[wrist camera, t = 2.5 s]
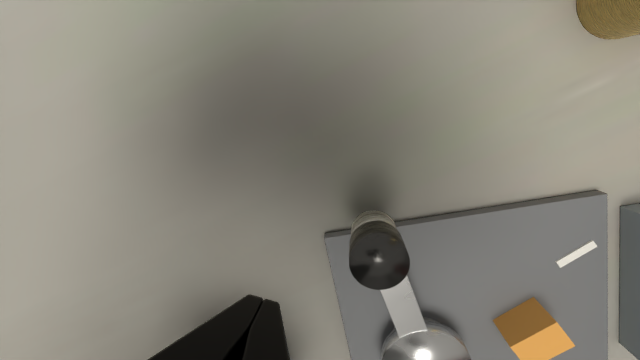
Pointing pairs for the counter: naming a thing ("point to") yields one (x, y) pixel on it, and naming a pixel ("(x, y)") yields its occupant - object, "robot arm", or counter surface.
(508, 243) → the crank base
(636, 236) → the tray
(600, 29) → the pin
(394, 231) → the crank
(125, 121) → the counter surface
